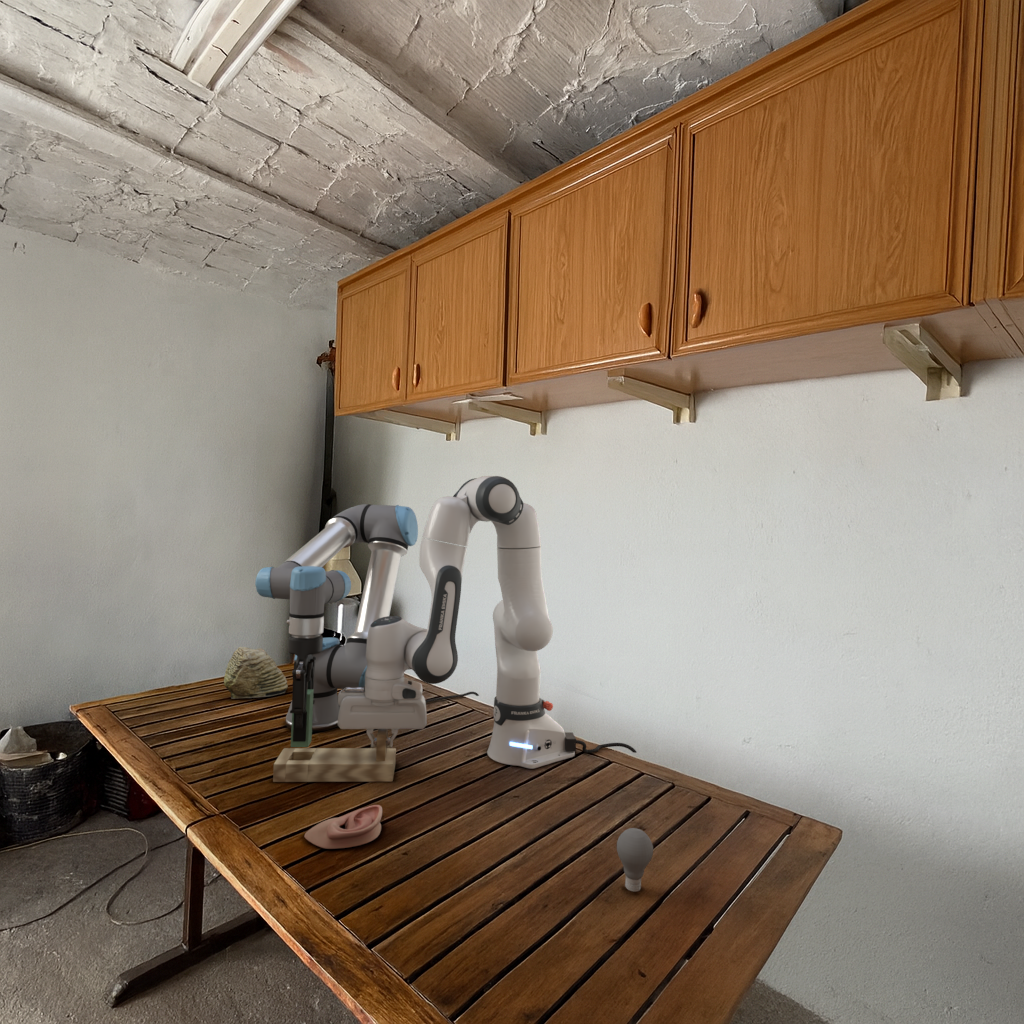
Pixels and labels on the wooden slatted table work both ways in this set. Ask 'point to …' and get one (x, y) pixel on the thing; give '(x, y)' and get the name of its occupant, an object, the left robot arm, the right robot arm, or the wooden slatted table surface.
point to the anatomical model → (347, 829)
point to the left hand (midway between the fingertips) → (301, 736)
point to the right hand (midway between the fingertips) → (382, 746)
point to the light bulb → (634, 856)
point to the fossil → (253, 675)
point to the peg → (309, 722)
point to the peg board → (337, 763)
